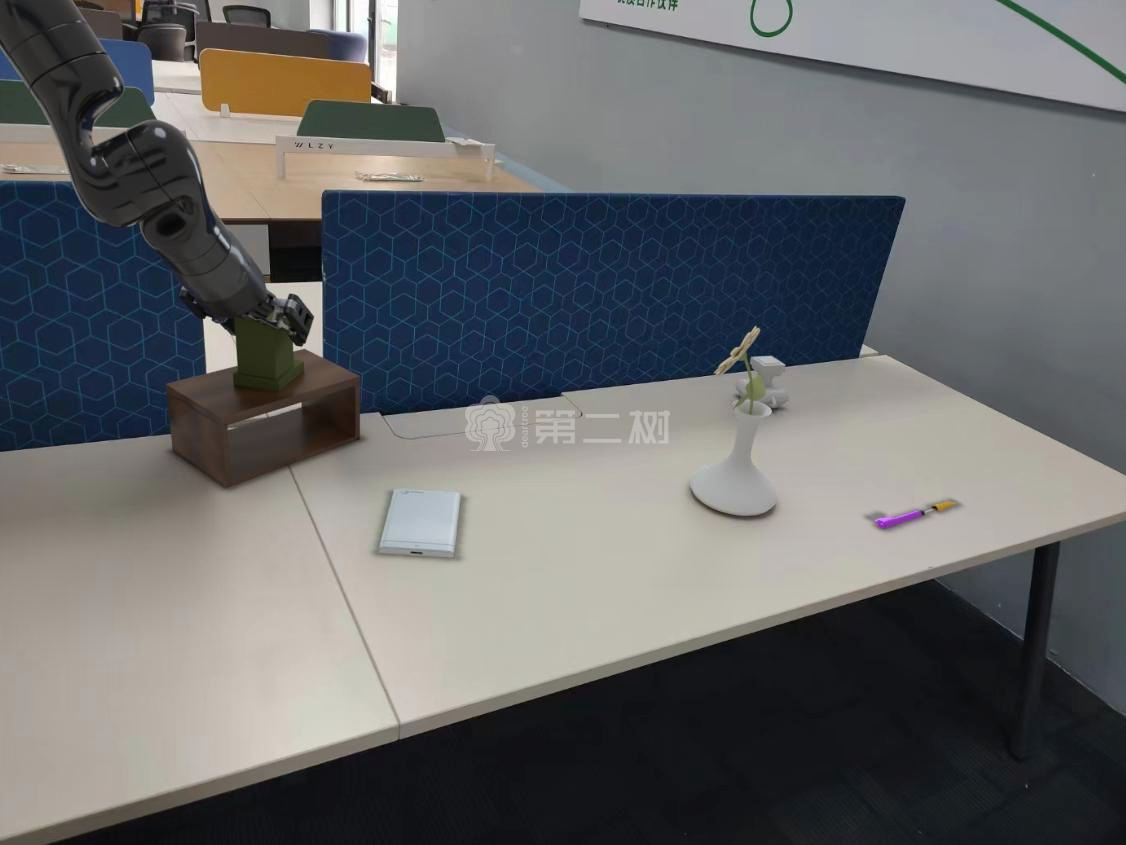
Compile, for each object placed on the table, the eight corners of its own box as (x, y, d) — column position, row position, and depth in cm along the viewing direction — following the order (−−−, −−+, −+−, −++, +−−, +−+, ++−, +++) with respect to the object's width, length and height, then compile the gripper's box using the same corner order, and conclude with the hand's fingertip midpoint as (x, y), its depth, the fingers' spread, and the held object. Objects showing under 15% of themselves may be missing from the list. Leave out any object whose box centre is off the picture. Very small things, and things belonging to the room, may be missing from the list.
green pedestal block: (279, 392, 104) (276, 323, 100) (233, 384, 104) (228, 315, 100) (304, 371, 110) (302, 305, 106) (260, 364, 111) (257, 298, 107)
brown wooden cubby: (172, 455, 107) (165, 383, 102) (306, 413, 121) (304, 348, 117) (226, 493, 100) (220, 418, 96) (360, 443, 115) (360, 376, 111)
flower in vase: (720, 471, 119) (757, 302, 108) (790, 506, 112) (836, 330, 101) (662, 498, 111) (696, 318, 100) (733, 538, 104) (778, 350, 93)
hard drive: (393, 487, 103) (378, 545, 91) (461, 492, 103) (454, 550, 92) (393, 499, 103) (378, 557, 92) (460, 503, 104) (453, 562, 93)
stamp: (789, 416, 139) (801, 369, 136) (755, 418, 137) (766, 371, 133) (761, 394, 147) (771, 349, 143) (728, 395, 144) (737, 349, 141)
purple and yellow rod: (883, 532, 108) (957, 508, 117) (883, 523, 108) (958, 500, 116) (865, 525, 111) (940, 503, 119) (866, 517, 110) (940, 495, 119)
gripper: (289, 248, 91) (332, 316, 106) (164, 229, 92) (225, 299, 107) (268, 309, 88) (315, 370, 103) (140, 289, 89) (206, 352, 105)
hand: (269, 334), depth 105 cm, fingers open, 8 cm apart
